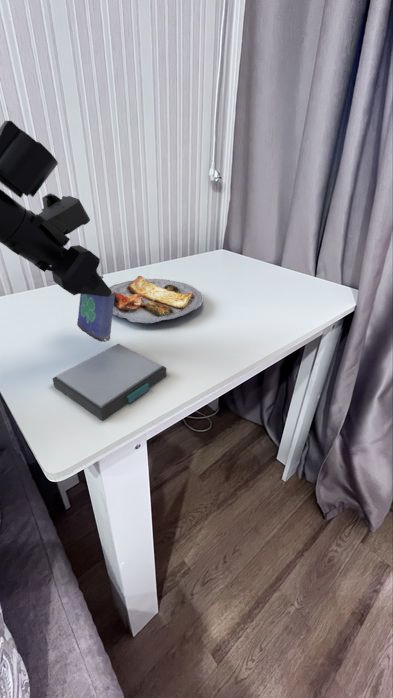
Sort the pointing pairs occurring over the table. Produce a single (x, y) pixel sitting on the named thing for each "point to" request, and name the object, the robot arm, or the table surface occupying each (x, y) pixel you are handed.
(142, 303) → the food plate
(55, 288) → the table surface
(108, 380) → the scale
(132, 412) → the table surface
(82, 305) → the flask
